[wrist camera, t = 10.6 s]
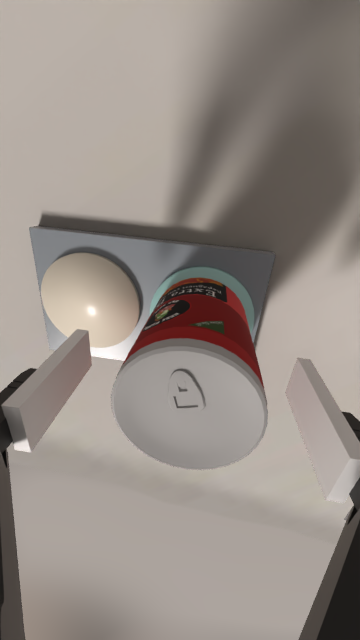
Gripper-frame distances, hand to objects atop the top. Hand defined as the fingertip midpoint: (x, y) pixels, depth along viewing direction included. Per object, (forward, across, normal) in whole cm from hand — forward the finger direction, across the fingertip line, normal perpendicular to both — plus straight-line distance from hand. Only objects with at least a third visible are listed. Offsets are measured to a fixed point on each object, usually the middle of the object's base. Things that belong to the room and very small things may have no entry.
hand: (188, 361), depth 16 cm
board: (+8, -4, 0) cm, 9 cm away
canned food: (+7, 0, 0) cm, 7 cm away
